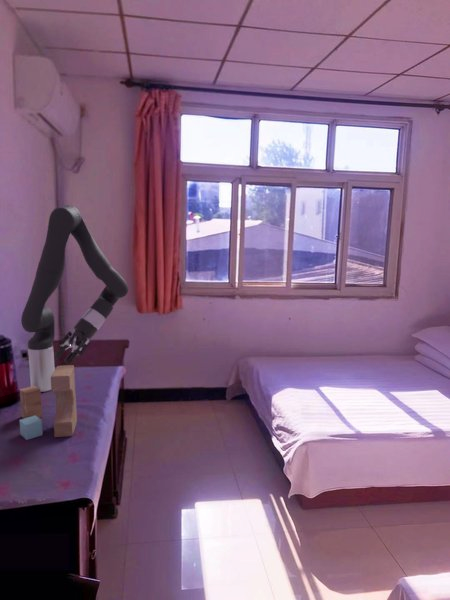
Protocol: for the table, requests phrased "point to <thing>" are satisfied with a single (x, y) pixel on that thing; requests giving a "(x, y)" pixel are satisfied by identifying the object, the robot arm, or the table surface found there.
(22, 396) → the tan long block
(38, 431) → the teal cube
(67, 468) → the table surface
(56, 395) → the decorative block
